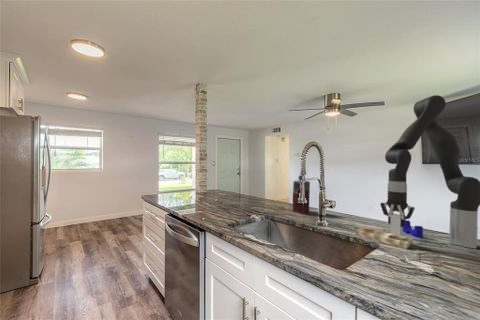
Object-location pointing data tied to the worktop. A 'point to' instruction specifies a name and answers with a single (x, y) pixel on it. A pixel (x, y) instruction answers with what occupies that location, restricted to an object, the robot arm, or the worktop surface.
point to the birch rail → (384, 237)
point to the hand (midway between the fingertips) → (396, 225)
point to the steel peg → (396, 224)
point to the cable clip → (416, 232)
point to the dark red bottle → (296, 190)
